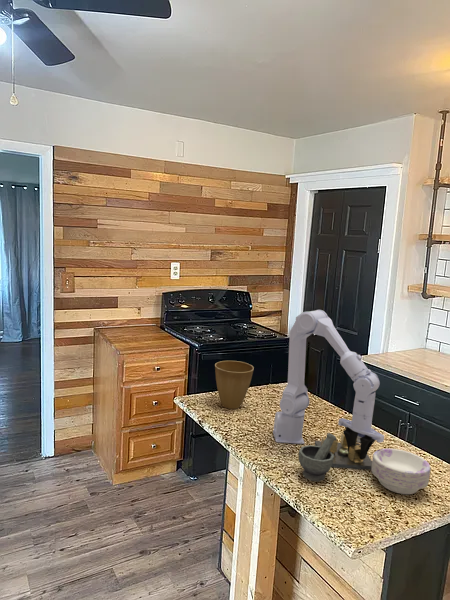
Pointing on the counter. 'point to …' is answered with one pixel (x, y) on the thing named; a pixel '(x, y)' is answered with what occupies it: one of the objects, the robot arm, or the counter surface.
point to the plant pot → (233, 382)
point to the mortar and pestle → (317, 459)
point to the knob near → (355, 454)
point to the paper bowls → (400, 470)
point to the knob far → (344, 442)
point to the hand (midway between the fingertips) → (356, 455)
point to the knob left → (334, 445)
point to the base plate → (347, 459)
